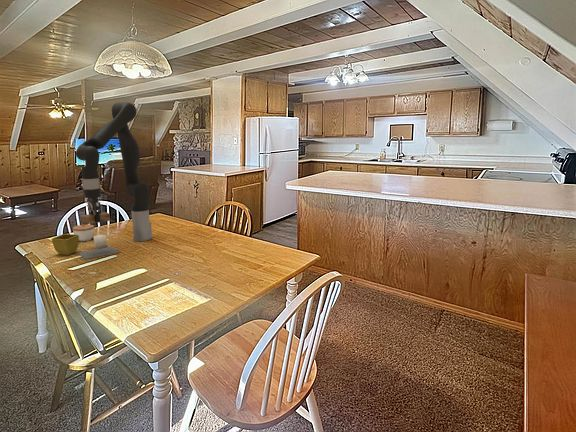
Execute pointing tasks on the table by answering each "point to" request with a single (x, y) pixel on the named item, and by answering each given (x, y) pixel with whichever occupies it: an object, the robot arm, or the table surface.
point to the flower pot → (66, 243)
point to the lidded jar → (84, 232)
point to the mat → (98, 252)
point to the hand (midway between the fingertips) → (95, 220)
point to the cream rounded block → (100, 241)
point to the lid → (91, 219)
